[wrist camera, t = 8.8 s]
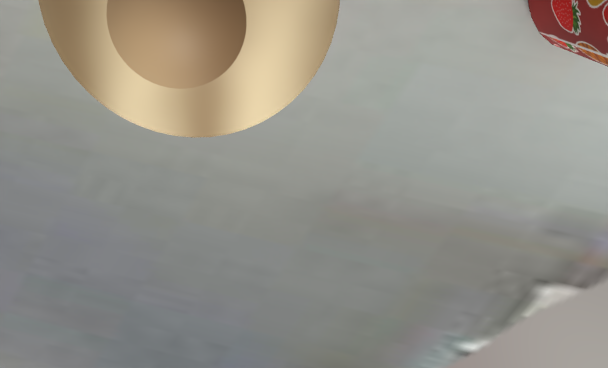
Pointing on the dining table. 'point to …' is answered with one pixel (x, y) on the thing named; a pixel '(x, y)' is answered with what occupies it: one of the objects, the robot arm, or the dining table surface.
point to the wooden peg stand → (192, 57)
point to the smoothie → (574, 26)
